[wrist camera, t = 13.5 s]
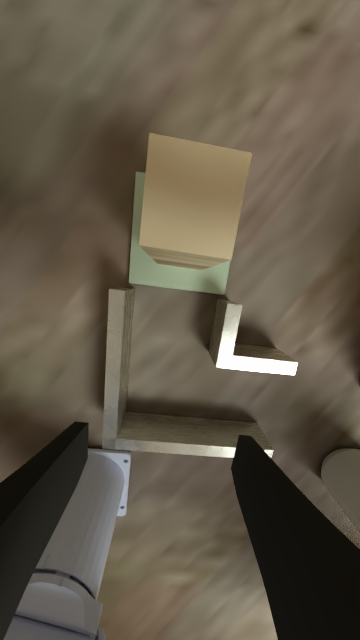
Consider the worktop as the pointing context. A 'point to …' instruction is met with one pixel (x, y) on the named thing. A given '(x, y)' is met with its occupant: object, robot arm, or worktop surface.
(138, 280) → the end pad
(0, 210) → the worktop surface
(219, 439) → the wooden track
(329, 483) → the beverage can
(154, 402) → the worktop surface
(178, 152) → the birch block
